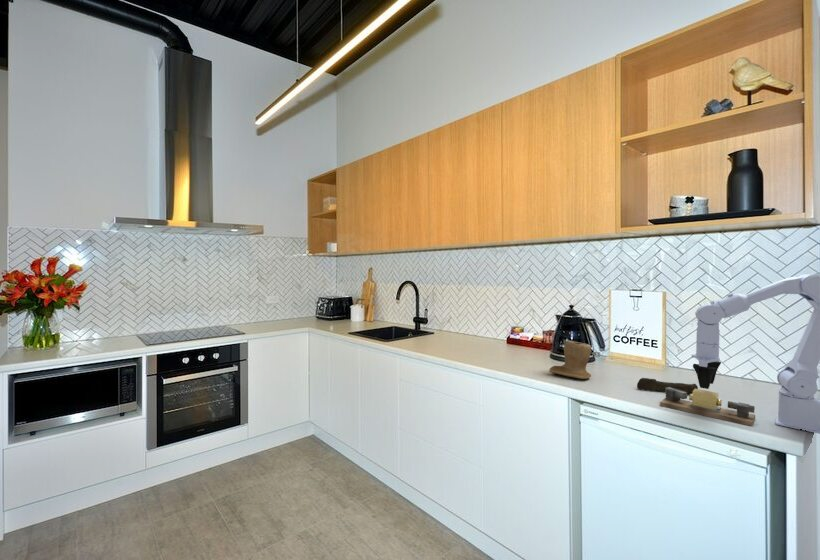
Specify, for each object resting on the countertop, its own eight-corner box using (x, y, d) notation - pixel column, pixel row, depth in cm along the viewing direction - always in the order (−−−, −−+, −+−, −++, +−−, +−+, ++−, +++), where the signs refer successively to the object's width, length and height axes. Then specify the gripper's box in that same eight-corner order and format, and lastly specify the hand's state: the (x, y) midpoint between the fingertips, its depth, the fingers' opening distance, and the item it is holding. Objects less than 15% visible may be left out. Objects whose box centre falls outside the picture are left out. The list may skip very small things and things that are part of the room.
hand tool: (695, 393, 142) (695, 380, 142) (698, 396, 138) (698, 383, 138) (636, 387, 149) (636, 375, 149) (637, 390, 145) (638, 378, 145)
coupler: (722, 407, 121) (722, 393, 121) (720, 411, 119) (720, 396, 118) (691, 401, 127) (691, 387, 127) (688, 404, 124) (688, 390, 124)
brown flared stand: (596, 377, 162) (596, 341, 162) (584, 382, 154) (585, 345, 154) (560, 370, 173) (561, 336, 173) (548, 375, 165) (548, 340, 164)
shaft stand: (755, 418, 117) (755, 403, 117) (752, 426, 112) (752, 409, 112) (666, 400, 134) (666, 386, 134) (660, 405, 128) (660, 391, 128)
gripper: (696, 338, 130) (695, 378, 130) (687, 344, 120) (686, 387, 120) (723, 341, 125) (722, 383, 125) (715, 347, 115) (714, 392, 115)
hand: (706, 385), depth 123 cm, fingers open, 7 cm apart
